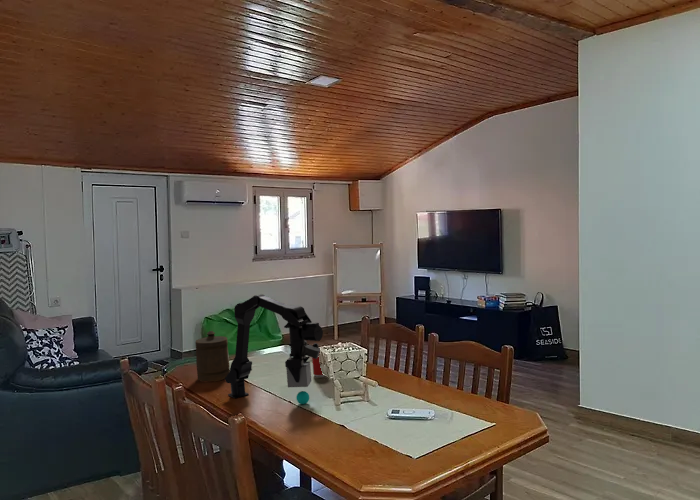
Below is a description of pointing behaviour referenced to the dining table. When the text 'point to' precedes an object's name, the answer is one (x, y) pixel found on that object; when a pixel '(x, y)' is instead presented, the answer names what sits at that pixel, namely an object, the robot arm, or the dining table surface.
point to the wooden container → (212, 358)
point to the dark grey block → (304, 376)
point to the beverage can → (317, 367)
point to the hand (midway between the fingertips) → (299, 379)
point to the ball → (302, 397)
